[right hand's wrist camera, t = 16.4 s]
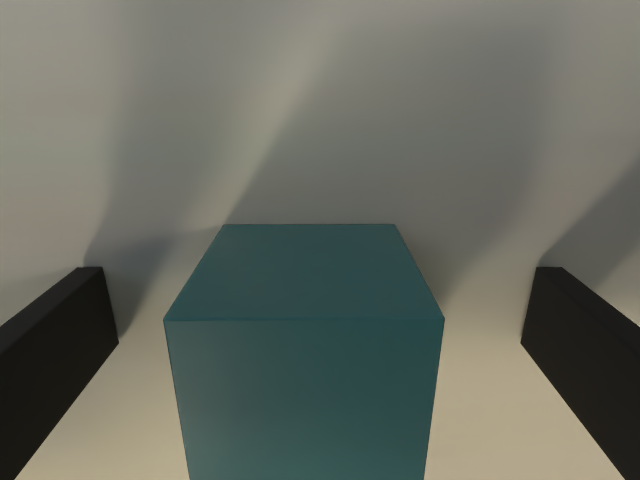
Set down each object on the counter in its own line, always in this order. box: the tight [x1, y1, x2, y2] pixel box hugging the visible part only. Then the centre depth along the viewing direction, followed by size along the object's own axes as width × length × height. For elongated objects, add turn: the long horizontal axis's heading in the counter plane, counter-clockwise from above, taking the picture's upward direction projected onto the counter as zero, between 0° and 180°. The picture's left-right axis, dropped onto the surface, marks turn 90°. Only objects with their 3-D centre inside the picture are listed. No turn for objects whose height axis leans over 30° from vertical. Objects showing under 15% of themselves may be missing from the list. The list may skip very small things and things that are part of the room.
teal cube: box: [163, 224, 445, 480], centre depth 10 cm, size 5×5×5 cm
